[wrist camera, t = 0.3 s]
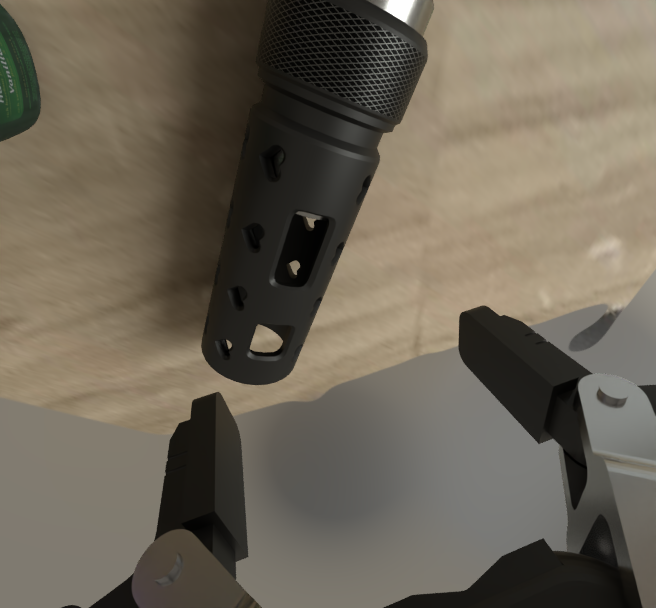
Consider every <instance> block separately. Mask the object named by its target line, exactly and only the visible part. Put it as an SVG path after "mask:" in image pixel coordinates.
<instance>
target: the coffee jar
mask: <svg viewBox="0 0 656 608" xmlns="http://www.w3.org/2000/svg"><path fill="white" fill-rule="evenodd" d="M40 108H41V98H40V91H39V84H38V80H37V75H36V70H35V66H34V63H33V59H32V56H31V53H30V51H29V48H28V45H27V43H26V41H25V38H24V36H23V34H22V32H21V30H20V29H19V27H18V25H17V24H16V22H15V21H14V19H13V18H12V17H11V16H10V14H9V13H8V12H7V11H6V10H5V9H4V8H3V7H2V6H1V4H0V141H3V140H6V139H9V138H11V137H13V136H15V135H17V134H20V133H22V132H24V131H26V130H27V129H29V128H30V127H32V126H33V125H34V124H35V122H36V121H37V119H38V116H39V114H40Z"/></svg>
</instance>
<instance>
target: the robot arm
mask: <svg viewBox="0 0 656 608" xmlns="http://www.w3.org/2000/svg"><path fill="white" fill-rule="evenodd" d="M459 352H460V356H461V358H462V360H463V362H464V363H465V365H466V366H467V367H468V368H469V369H470V370H471V371H472V372H473V373H474V375H475V376H476V377H477V378H478V379H479V380H480V381H481V382H482V383H483V384H484V385H485V386H486V388H487V389H488V390H489V391H491V393H492V394H493V395H494V396H495V397H496V398H497V399H498V400H499V401H500V403H501V404H502V405H503V406H504V407H505V408H506V409H507V410H508V411H509V412H510V413H511V414H512V415H513V417H514V418H515V419H516V420H517V421H518V422H519V423H520V424H521V425H522V426H523V427H524V428H525V430H526V431H527V432H528V433H529V434H530V435H531V436H532V437H533V438H534V439H535V440H536V441H537V442H538V444H540V443H543V442H545V441H548V440H550V439H555V440H556V442H557V443H558V444H560V446H559V459H560V466H561V473H562V480H563V487H564V494H565V501H566V508H567V516H568V526H567V538H566V542H567V543H566V544H567V552H564V551H552V550H551V548H550V547H549V546H548V544H547V543H546V542H545V540H544V539H541V540H538V541H536V542H534V543H531V544H529V545H527V546H524V547H522V548H520V549H517V550H516V551H513V552H511V553H508V554H506V555H504V556H502V557H501V558H500V559H499V560H498V561H497V562H496V563H495V564H494V565H493V566H491V567H490V568H489V569H488V570H487V571H486V572H485V573H484V574H483V575H482V576H481V577H480V578H479V579H478V580H477V581H476V582H475V583H474V584H473V585H472V586H471V587H470V588H468V589H467V590H465V591H461V592H447V593H435V594H434V593H433V594H420V595H412V596H409V597H407V598H405V599H402V600H400V601H398V602H396V603H393V604H391V605H389V606H386V607H384V608H656V385H645V386H636V385H635V384H633V383H632V382H629V381H628V380H626V379H623V378H621V377H618V376H614V375H609V374H592V373H591V372H589V371H588V370H587V369H585V368H584V367H583V366H581V365H580V364H578V363H577V362H576V361H574V360H573V359H572V358H570V357H569V356H567V355H566V354H565V353H563V352H562V351H561V350H559V349H558V348H557V347H555V346H554V345H553V344H551V343H550V342H546V339H544V338H543V337H542V336H540V335H539V334H536V333H535V332H534V331H533V330H532V329H531V328H530V327H528V326H527V325H525V324H524V323H523V322H521V321H519V320H516V319H513V318H511V317H508V316H506V315H503V316H499V315H498V314H496V313H495V312H494V311H493V310H491V309H490V308H489V307H487V306H480V307H477V308H474V309H471V310H468V311H465V312H462V313H461V314H460V318H459ZM165 472H166V476H165V477H164V484H163V491H162V498H161V505H160V512H159V518H158V525H157V532H156V536H155V540H154V542H153V543H152V544H151V545H150V546H149V547H148V548H147V550H146V551H145V552H144V554H143V555H142V557H141V558H140V560H139V562H138V564H137V566H136V568H135V571H134V573H133V574H132V575H131V576H130V577H129V578H128V579H127V580H126V581H124V582H123V583H122V584H120V585H119V586H118V587H116V588H115V589H114V590H112V591H111V592H110V593H108V594H107V595H106V596H104V597H103V598H102V599H100V600H99V601H97V602H96V603H95V604H93V605H92V606H91V607H89V608H262V607H261V606H260V605H259V604H258V603H257V602H256V601H255V600H254V599H253V598H252V597H251V596H250V595H249V594H248V593H247V592H246V591H245V590H244V589H243V587H242V586H241V585H240V584H239V583H238V582H237V581H236V562H237V561H239V560H241V559H244V558H246V557H248V546H247V530H246V513H245V497H244V481H243V465H242V450H241V439H240V434H239V430H238V427H237V424H236V422H235V420H234V418H233V416H232V414H231V412H230V411H229V409H228V407H227V405H226V403H225V401H224V399H223V397H222V395H221V394H220V393H219V392H216V393H213V394H210V395H207V396H204V397H201V398H197V399H194V400H193V402H192V408H191V419H190V420H187V421H184V422H181V423H179V425H178V426H177V428H176V430H175V432H174V434H173V436H172V437H171V439H170V443H169V450H168V461H167V464H166V470H165ZM62 608H81V607H79V606H75V605H69V606H65V607H62Z"/></svg>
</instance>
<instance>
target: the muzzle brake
mask: <svg viewBox="0 0 656 608" xmlns="http://www.w3.org/2000/svg"><path fill="white" fill-rule="evenodd" d="M433 10H434V3H433V0H268V3H267V8H266V13H265V17H264V22H263V27H262V32H261V37H260V42H259V47H258V52H257V57H256V63H257V65H258V67H259V69H258V76H259V78H260V79H261V80H262V81H263V82H264V83H265V85H264V89H263V94H262V99H261V102H259V103H257V104H255V105H253V107H252V108H251V109H250V114H249V119H248V124H247V128H246V133H245V140H244V143H243V147H242V152H241V157H240V162H239V166H238V171H237V176H236V181H235V185H234V190H233V195H232V200H231V205H230V210H229V214H228V219H227V223H226V228H225V233H224V238H223V243H222V247H221V252H220V257H219V262H218V267H217V271H216V276H215V281H214V285H213V290H212V295H211V300H210V304H209V309H208V315H207V319H206V323H205V328H204V333H203V338H202V345H201V347H202V353H203V355H204V357H205V360H206V361H207V362H208V364H209V365H210V366H211V367H212V368H213V369H214V370H215V371H216V372H218V373H219V374H221V375H223V376H224V377H226V378H228V379H231V380H233V381H236V382H239V383H244V384H250V385H265V384H270V383H275V382H277V381H279V380H282V379H283V378H285V377H286V376H287V375H289V374H290V372H291V371H292V370H293V368H294V366H295V363H296V361H297V358H298V356H299V354H300V351H301V349H302V346H303V344H304V342H305V339H306V337H307V334H308V332H309V330H310V327H311V325H312V322H313V320H314V318H315V315H316V313H317V310H318V308H319V306H320V303H321V301H322V298H323V296H324V294H325V291H326V289H327V286H328V284H329V282H330V279H331V277H332V274H333V272H334V270H335V267H336V265H337V262H338V260H339V258H340V255H341V253H342V250H343V248H344V246H345V243H346V241H347V238H348V236H349V234H350V231H351V229H352V227H353V224H354V222H355V219H356V217H357V215H358V212H359V210H360V207H361V205H362V203H363V200H364V198H365V195H366V193H367V190H368V188H369V186H370V183H371V181H372V179H373V176H374V174H375V171H376V169H377V167H378V164H379V161H380V155H379V152H378V150H377V147H378V144H379V142H380V139H381V137H382V135H383V133H388V132H392V131H393V129H394V127H395V125H397V124H400V122H401V121H402V118H403V116H404V114H405V111H406V109H407V106H408V104H409V102H410V99H411V97H412V95H413V92H414V90H415V88H416V85H417V83H418V80H419V78H420V76H421V73H422V71H423V69H424V66H425V64H426V62H427V57H428V53H427V43H426V40H425V39H424V38H423V35H424V33H425V30H426V28H427V25H428V23H429V20H430V18H431V15H432V13H433ZM306 217H308V218H312V219H317V220H316V221H314V228H311V227H310V226H309V224H308V222H307V219H306ZM294 260H297V261H298V262H299V263H300V268H299V269H298V270H297V275H295V274H294V273H293V271H292V269H291V266H290V264H289V263H290V262H292V261H294ZM258 324H260V325H263V326H265V327H268V328H269V329H271V330H273V331H274V332H275V333H277V334H278V335H279V336H280V337H281V339H282V340H283V343H282V346H281V347H280V349H278V350H277V351H275V352H267V353H263V352H255V351H252V350H250V345H251V342H252V338H253V335H254V332H255V329H256V326H257V325H258ZM226 340H228V341H230V342H231V343H232V347H231V348H230V349H228V345H227V342H226Z"/></svg>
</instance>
